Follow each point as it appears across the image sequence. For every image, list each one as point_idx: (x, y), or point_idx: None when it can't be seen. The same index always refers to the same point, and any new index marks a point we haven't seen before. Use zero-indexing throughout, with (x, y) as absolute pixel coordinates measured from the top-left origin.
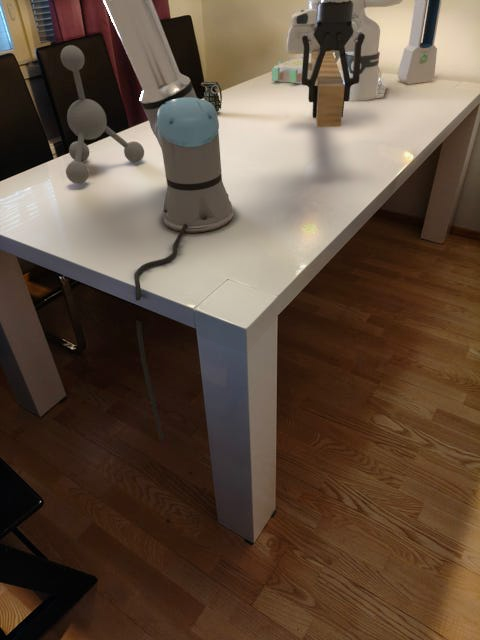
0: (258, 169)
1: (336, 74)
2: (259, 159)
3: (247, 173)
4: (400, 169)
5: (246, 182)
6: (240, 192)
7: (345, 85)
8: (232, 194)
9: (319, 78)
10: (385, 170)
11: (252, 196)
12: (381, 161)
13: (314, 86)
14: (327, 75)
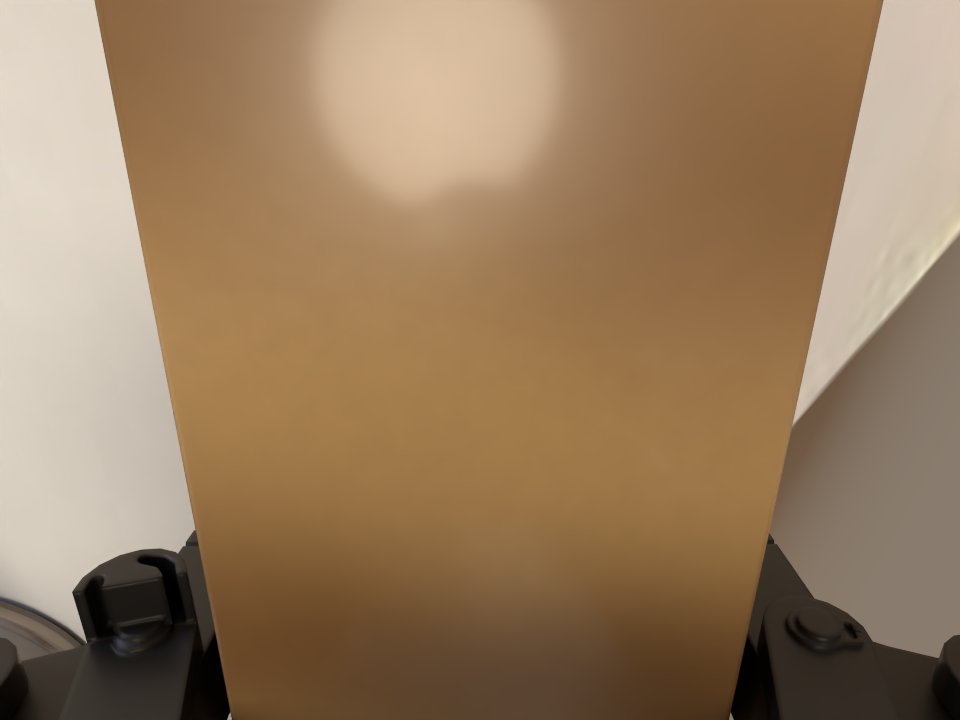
0: (84, 210)
1: (689, 409)
2: (38, 12)
3: (36, 271)
4: (931, 255)
5: (71, 394)
6: (79, 502)
7: (738, 715)
8: (48, 520)
9: (265, 710)
10: (839, 266)
11: (147, 542)
12: (872, 108)
13: (228, 713)
14: (445, 481)
